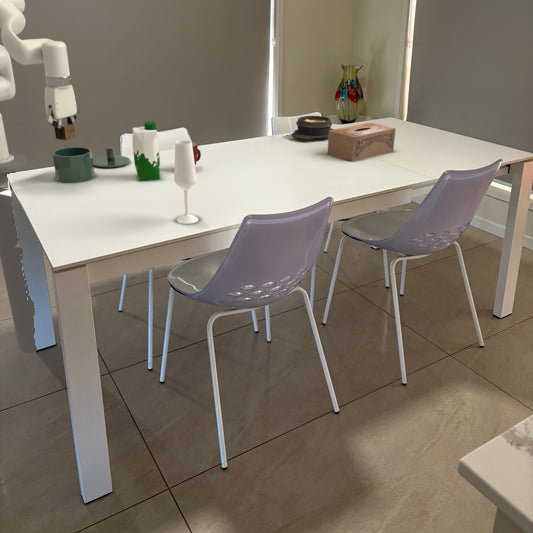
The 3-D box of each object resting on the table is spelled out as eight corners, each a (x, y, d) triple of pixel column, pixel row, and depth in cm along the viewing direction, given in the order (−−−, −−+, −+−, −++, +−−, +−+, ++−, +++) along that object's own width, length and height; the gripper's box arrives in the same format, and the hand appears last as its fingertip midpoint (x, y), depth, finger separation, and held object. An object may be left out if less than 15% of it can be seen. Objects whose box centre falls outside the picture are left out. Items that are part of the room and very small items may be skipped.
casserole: (313, 145, 263) (314, 126, 259) (281, 138, 274) (281, 120, 270) (345, 135, 280) (346, 117, 276) (313, 129, 291) (314, 112, 287)
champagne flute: (199, 215, 184) (196, 139, 173) (197, 223, 178) (194, 145, 167) (177, 215, 183) (173, 139, 173) (175, 223, 177) (170, 145, 167)
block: (56, 138, 199) (54, 125, 197) (65, 135, 202) (63, 122, 200) (66, 140, 197) (64, 126, 195) (75, 137, 201) (74, 124, 199)
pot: (48, 179, 215) (44, 153, 211) (74, 169, 226) (71, 145, 222) (77, 184, 209) (73, 158, 205) (102, 174, 220) (99, 149, 216)
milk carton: (162, 179, 215) (158, 125, 207) (137, 182, 213) (132, 126, 204) (158, 173, 223) (154, 120, 214) (134, 175, 220) (129, 121, 212)
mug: (191, 164, 234) (189, 139, 229) (206, 167, 230) (206, 142, 225) (173, 170, 226) (171, 145, 221) (189, 174, 222) (188, 148, 217)
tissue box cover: (352, 161, 240) (354, 137, 235) (327, 154, 250) (328, 130, 245) (393, 151, 255) (395, 128, 250) (367, 144, 265) (369, 122, 260)
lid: (84, 165, 231) (82, 149, 228) (108, 156, 243) (107, 141, 240) (114, 170, 225) (112, 154, 222) (137, 161, 237) (136, 145, 234)
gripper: (68, 77, 200) (74, 130, 208) (30, 84, 186) (38, 141, 194) (85, 79, 197) (91, 133, 205) (47, 86, 183) (55, 144, 191)
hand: (65, 136), depth 200 cm, fingers closed on block, 4 cm apart
